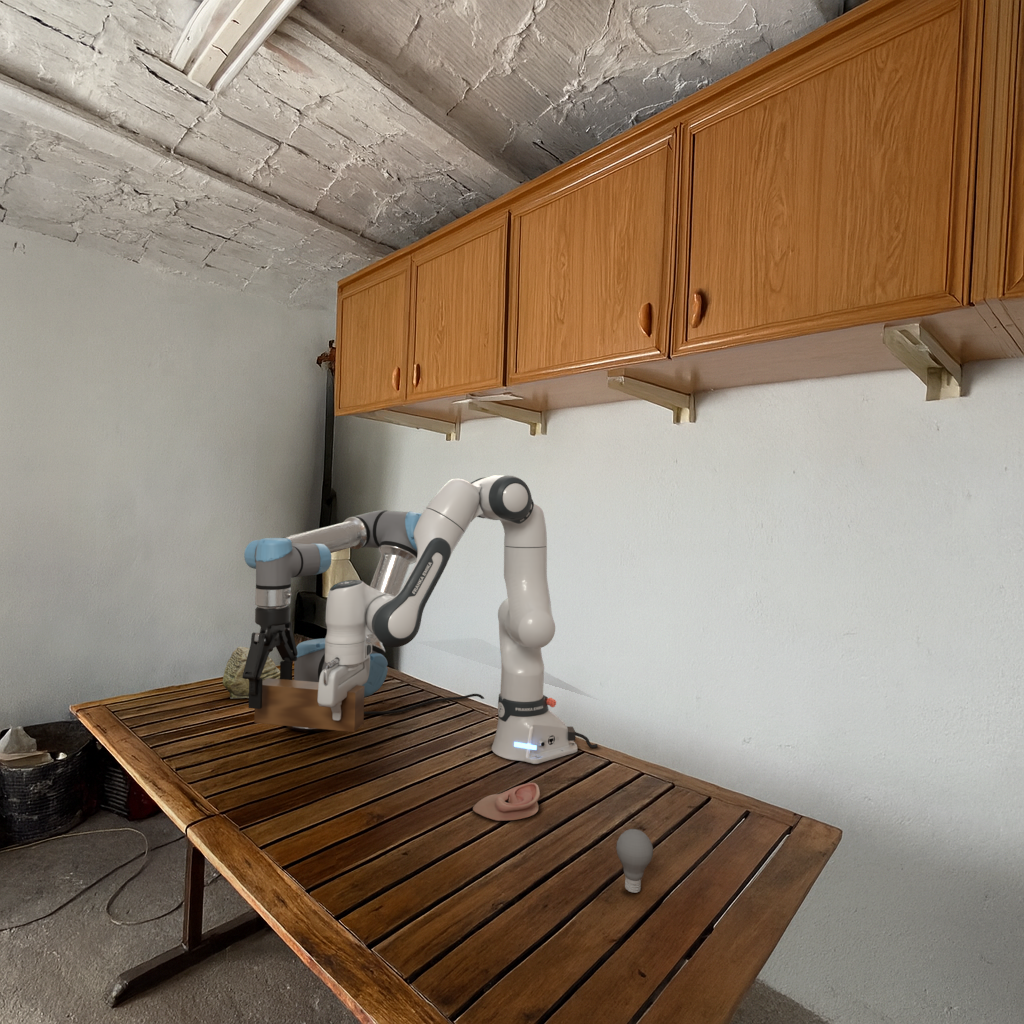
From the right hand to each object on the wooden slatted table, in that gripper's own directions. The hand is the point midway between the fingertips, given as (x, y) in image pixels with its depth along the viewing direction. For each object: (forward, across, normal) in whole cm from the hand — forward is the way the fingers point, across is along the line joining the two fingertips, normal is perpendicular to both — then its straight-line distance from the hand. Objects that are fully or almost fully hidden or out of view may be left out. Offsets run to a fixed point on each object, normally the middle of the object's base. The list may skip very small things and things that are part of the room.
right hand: (343, 714), depth 142 cm
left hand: (-2, 0, +18) cm, 18 cm away
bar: (+3, 0, +8) cm, 9 cm away
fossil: (+14, +48, +50) cm, 71 cm away
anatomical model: (+15, -5, -38) cm, 41 cm away
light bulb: (+15, -28, -63) cm, 71 cm away
